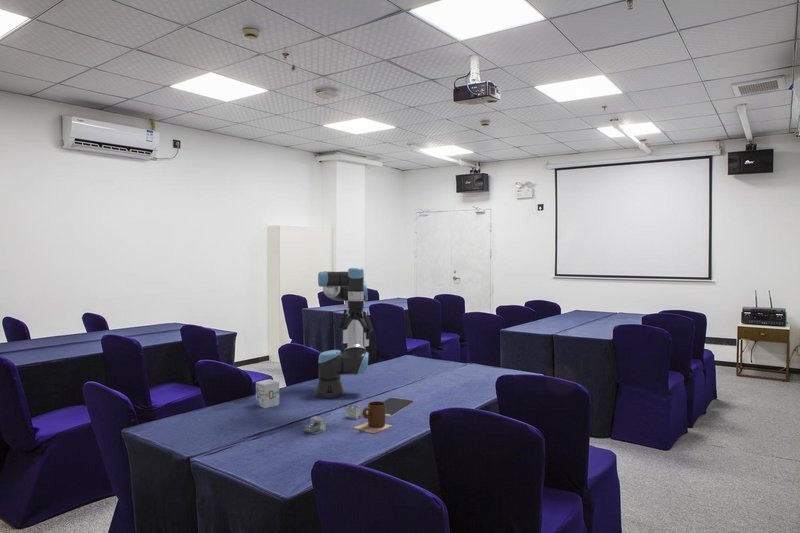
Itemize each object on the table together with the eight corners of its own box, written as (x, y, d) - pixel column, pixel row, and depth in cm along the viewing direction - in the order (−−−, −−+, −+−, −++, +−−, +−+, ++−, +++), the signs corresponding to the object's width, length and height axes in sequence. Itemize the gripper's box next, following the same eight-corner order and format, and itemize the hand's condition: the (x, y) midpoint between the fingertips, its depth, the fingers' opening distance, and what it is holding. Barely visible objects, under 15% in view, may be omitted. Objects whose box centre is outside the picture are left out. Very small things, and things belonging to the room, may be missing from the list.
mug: (369, 431, 210) (369, 409, 210) (356, 427, 215) (356, 405, 215) (388, 424, 219) (389, 403, 219) (376, 421, 224) (376, 400, 224)
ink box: (255, 404, 250) (255, 381, 250) (270, 401, 256) (270, 378, 256) (264, 408, 244) (264, 384, 244) (279, 404, 250) (279, 381, 250)
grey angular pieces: (300, 432, 211) (300, 420, 210) (354, 413, 237) (354, 402, 237) (312, 436, 206) (312, 423, 206) (366, 416, 232) (366, 405, 232)
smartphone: (364, 414, 237) (364, 411, 237) (390, 399, 261) (390, 396, 261) (390, 419, 231) (390, 415, 231) (414, 403, 255) (414, 399, 255)
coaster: (353, 428, 216) (353, 427, 216) (371, 421, 226) (371, 420, 226) (374, 434, 209) (374, 433, 209) (392, 426, 218) (392, 425, 218)
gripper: (331, 299, 245) (331, 342, 245) (370, 302, 229) (370, 348, 230) (342, 298, 251) (342, 340, 251) (380, 301, 235) (380, 346, 236)
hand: (355, 344), depth 240 cm, fingers open, 13 cm apart
